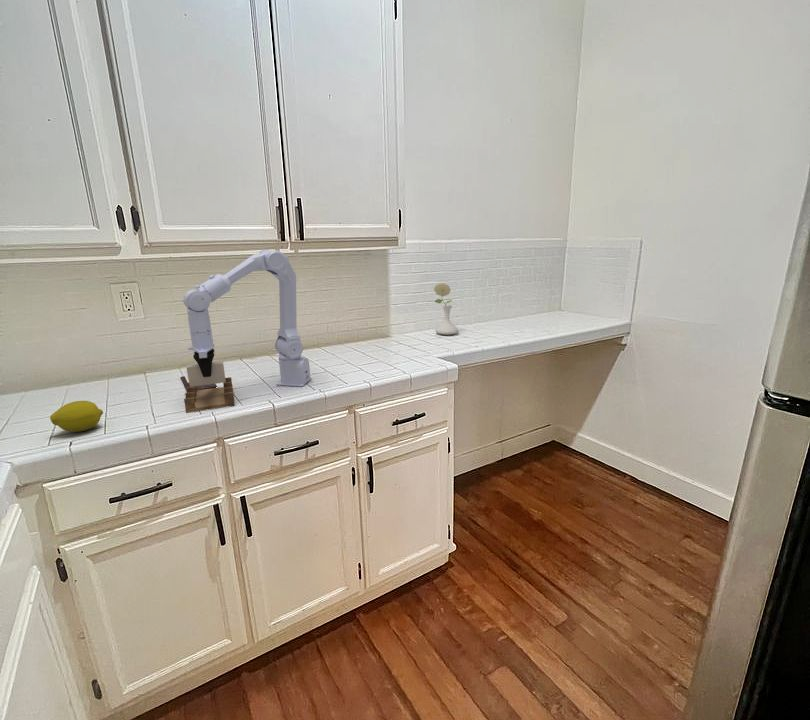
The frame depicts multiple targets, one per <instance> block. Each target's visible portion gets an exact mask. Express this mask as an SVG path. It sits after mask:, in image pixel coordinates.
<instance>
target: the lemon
mask: <svg viewBox="0 0 810 720" xmlns="http://www.w3.org/2000/svg"><path fill="white" fill-rule="evenodd" d="M103 413H104V411H103V410H102V409H101V408H99V407H98V406H97V404H96V403H94V402H92V401H89V400H76V401H71V402H68V403H65V404H64V405H63V406H60V408H58V409H57V410H56V411H54V412H53V413H52V414H50V417H49V419H50V423H51V424H53V425H54V426H56V427H57V426H58V427H59V428H60V429H62V430H63V431H66V432H71V433H72V432H73V433H75V432H84V431H87V430H90V429H92V428H94V427H95V426H97V424H99V422H100V421H101V418H102V415H103Z"/></svg>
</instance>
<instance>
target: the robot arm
mask: <svg viewBox="0 0 810 720" xmlns="http://www.w3.org/2000/svg"><path fill="white" fill-rule="evenodd" d="M289 260H290V259H289V257H288V256H286V254H284V253H283V252H282V251H281V250H276V249H275V250H273V249H272V250H271V249H270V250H269V249H262V250H260V251H259V252H258V253H254V254H252V255H251V256H249V257H248V258H246V259H245V260H243V261H242V262H240V263H239V264H238V265H236V266H235V267H234V268H233V269H230V271H228V272H227V273H225V274H219V273H217V274H216V275H214V274H211V275H209V277H208V278H209V279H208V280H206V281H205V282H203V283H201V284H196V285H195V286H194V287H195V289H190V290H188V291H186V292H185V294H184V296H183V299H182V302H183V304H184V305H185V307H186V311H187V322H188V327H189V333H190V334H189V335H190V339H191V340H190V341H191V345H190V346H187V349H188V350H189V351H194V352H193V359H194V361H195V362H196V364H198V365H199V367H200V370H201V373H202V375H203V377H210V376H211V372H212V363H213V360H214V358H215V343H214V338H213V331H212V326H211V319H210V317H211V316H210V314H209V307H210V304H211V303H213V302H215V301H217V300H218V299H220V298H221V297H222V296H224V295H225V294H227V293H228V292H231V289H232V284H235V283H236V282H237V281H240V280H241V279H243V278H244V277H246V276H247V275H249V274H251V273H253V272H254V271H255V272H256V271H257V272H258V271H267V272H268V273H270V274H272V276H274V278H276V279H277V281H279V282H278V286H279V287H278V288H279V290H278V291H279V293H278V294H279V295H278V296H279V330H278V331H277V337H276V339H275V342H274V347H275V349H276V352H278V363H279V364H278V365H279V373H280V380H279V381H278V382H277V383H276V384H275V385H276V386H288V387H290V386H291V387H303V386H305V385H306V384H307V383H309V381H310V380H312V377H311V371H310V370H311V368H310V367H311V366H310V360H309V359H308V358H307V357H303V356H302V354H303V351H304V346H303V344H302V341H301V336H300V334H299V332H298V328H297V274H296V272H295V269H293V266H292V265H291V263H290V261H289Z"/></svg>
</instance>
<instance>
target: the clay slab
mask: <svg viewBox="0 0 810 720" xmlns="http://www.w3.org/2000/svg"><path fill="white" fill-rule="evenodd" d="M186 373H187V376H188V380H189V386H190V387H193V386H201V385H208V384H216V385H217V384H223V383H224V382H226V379H225V378H226V374H225V373H226V372H225V366H224V361H214V362H212V372H211V376H210V377H203V375H202V373H201V370H200V367H199V365H198V363H196V364H189V365H186Z"/></svg>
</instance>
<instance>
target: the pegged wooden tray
mask: <svg viewBox="0 0 810 720" xmlns="http://www.w3.org/2000/svg"><path fill="white" fill-rule="evenodd" d="M225 379H226V382H224V383H222V385H223V386H221V387H220V386H219V387H217V388H211V389H204V390H197V386H193V387H190V386H189V383H187V386H188V387H187V388H186V389H185V390H186V392H185V393H184V395H185V398H184V399H183V401H184V408H185V413H186V414H188V413H193V412H201V411H205V410H207V409H208V410H213V409H220V408H221V409H222V408H228V407H234V406H235V405H236V404H235V397H234V387H233V381H232V376H230V377H229V376H228V377H225Z"/></svg>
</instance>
